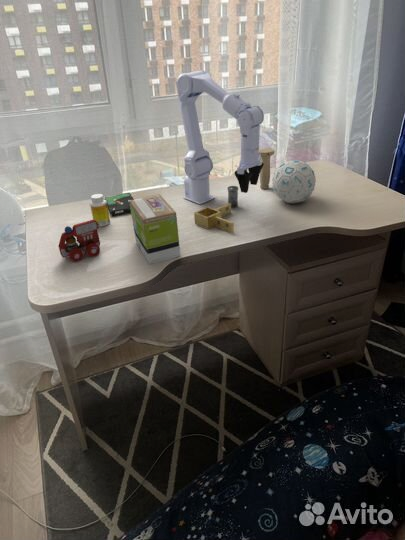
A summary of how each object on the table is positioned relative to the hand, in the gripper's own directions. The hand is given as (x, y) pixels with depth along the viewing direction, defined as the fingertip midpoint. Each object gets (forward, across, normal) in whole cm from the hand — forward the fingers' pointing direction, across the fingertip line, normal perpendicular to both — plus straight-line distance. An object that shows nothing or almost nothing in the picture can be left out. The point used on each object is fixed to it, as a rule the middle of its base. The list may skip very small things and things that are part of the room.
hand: (249, 188), depth 138 cm
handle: (+10, +25, +4) cm, 27 cm away
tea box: (+10, -34, +15) cm, 39 cm away
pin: (+10, +4, +8) cm, 13 cm away
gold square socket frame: (+10, -9, +5) cm, 14 cm away
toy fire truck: (+10, -47, +34) cm, 58 cm away
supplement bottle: (+10, -27, +43) cm, 52 cm away
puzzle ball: (+10, +17, -10) cm, 22 cm away
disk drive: (+11, -13, +46) cm, 49 cm away
